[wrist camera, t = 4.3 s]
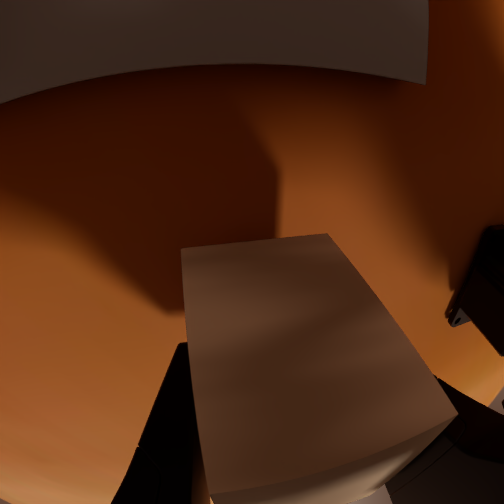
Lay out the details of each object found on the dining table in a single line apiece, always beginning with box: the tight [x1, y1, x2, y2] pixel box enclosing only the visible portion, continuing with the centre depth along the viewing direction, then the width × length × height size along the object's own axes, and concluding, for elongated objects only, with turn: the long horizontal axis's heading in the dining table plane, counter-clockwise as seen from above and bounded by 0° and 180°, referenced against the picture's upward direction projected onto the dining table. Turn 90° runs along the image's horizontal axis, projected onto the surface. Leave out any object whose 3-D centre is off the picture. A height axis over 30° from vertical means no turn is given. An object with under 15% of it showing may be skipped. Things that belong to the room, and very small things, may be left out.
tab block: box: [181, 233, 458, 504], centre depth 7 cm, size 4×5×6 cm
